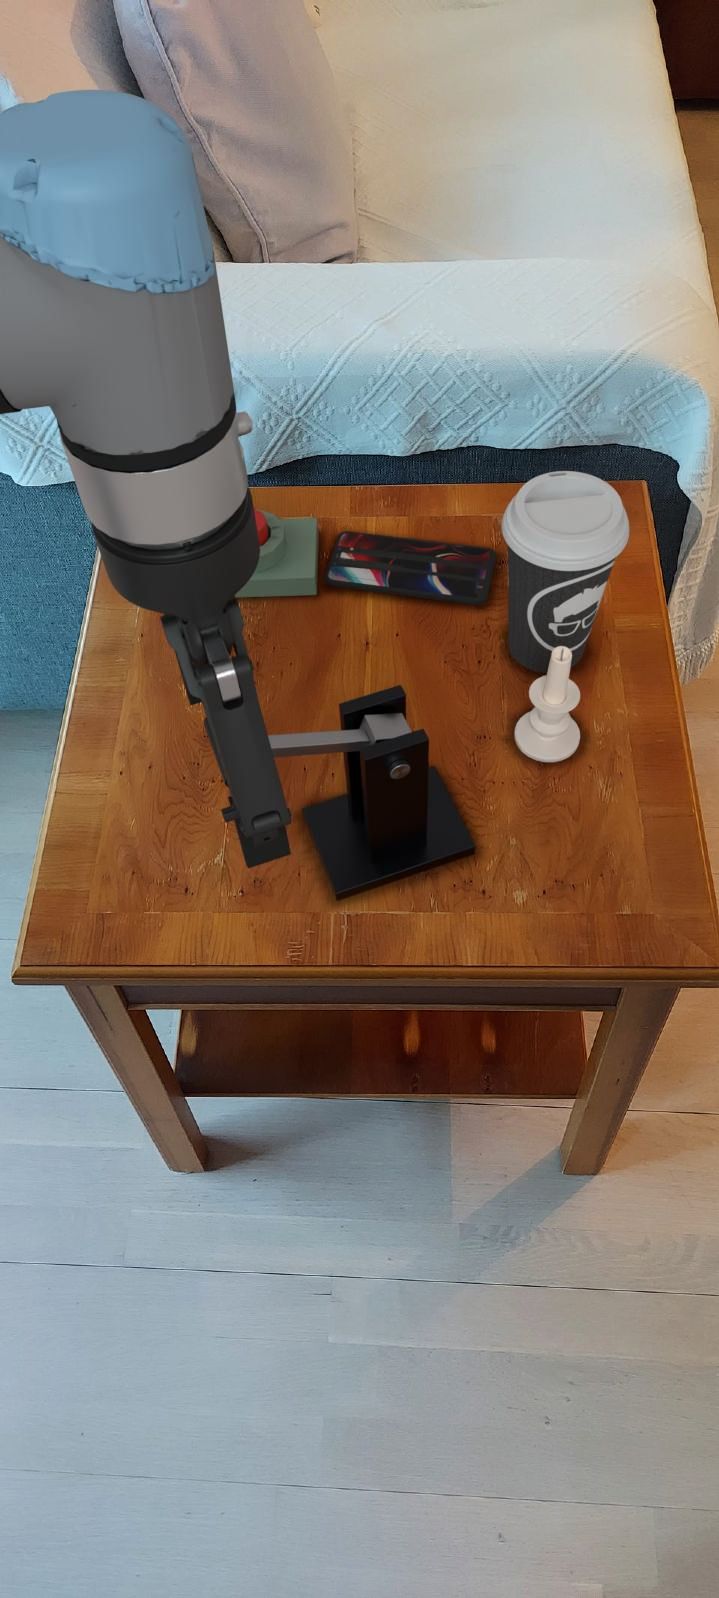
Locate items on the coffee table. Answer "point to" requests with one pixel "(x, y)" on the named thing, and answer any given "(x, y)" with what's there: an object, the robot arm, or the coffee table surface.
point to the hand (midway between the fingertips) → (236, 771)
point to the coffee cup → (559, 562)
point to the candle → (551, 713)
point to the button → (261, 527)
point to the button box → (286, 559)
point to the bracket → (385, 809)
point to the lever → (331, 738)
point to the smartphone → (411, 567)
